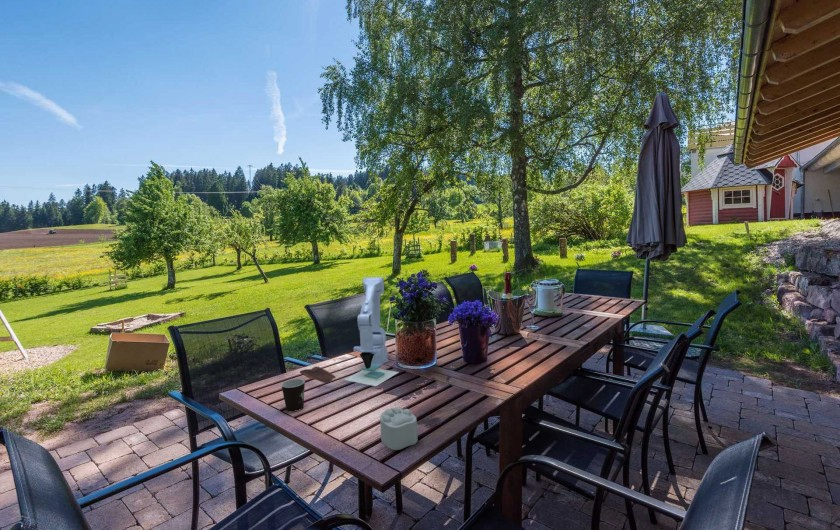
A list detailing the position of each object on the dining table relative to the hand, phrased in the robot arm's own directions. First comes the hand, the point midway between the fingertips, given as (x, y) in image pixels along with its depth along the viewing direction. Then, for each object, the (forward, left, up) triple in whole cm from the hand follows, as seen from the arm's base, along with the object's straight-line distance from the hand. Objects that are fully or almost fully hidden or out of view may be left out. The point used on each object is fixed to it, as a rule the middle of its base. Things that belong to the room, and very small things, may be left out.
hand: (368, 367), depth 178 cm
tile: (0, 0, -3) cm, 3 cm away
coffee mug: (+36, -7, -5) cm, 37 cm away
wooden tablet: (+8, -22, -5) cm, 24 cm away
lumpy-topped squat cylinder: (+38, +41, -5) cm, 57 cm away
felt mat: (-1, +1, -4) cm, 5 cm away
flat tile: (-7, -4, -4) cm, 9 cm away
